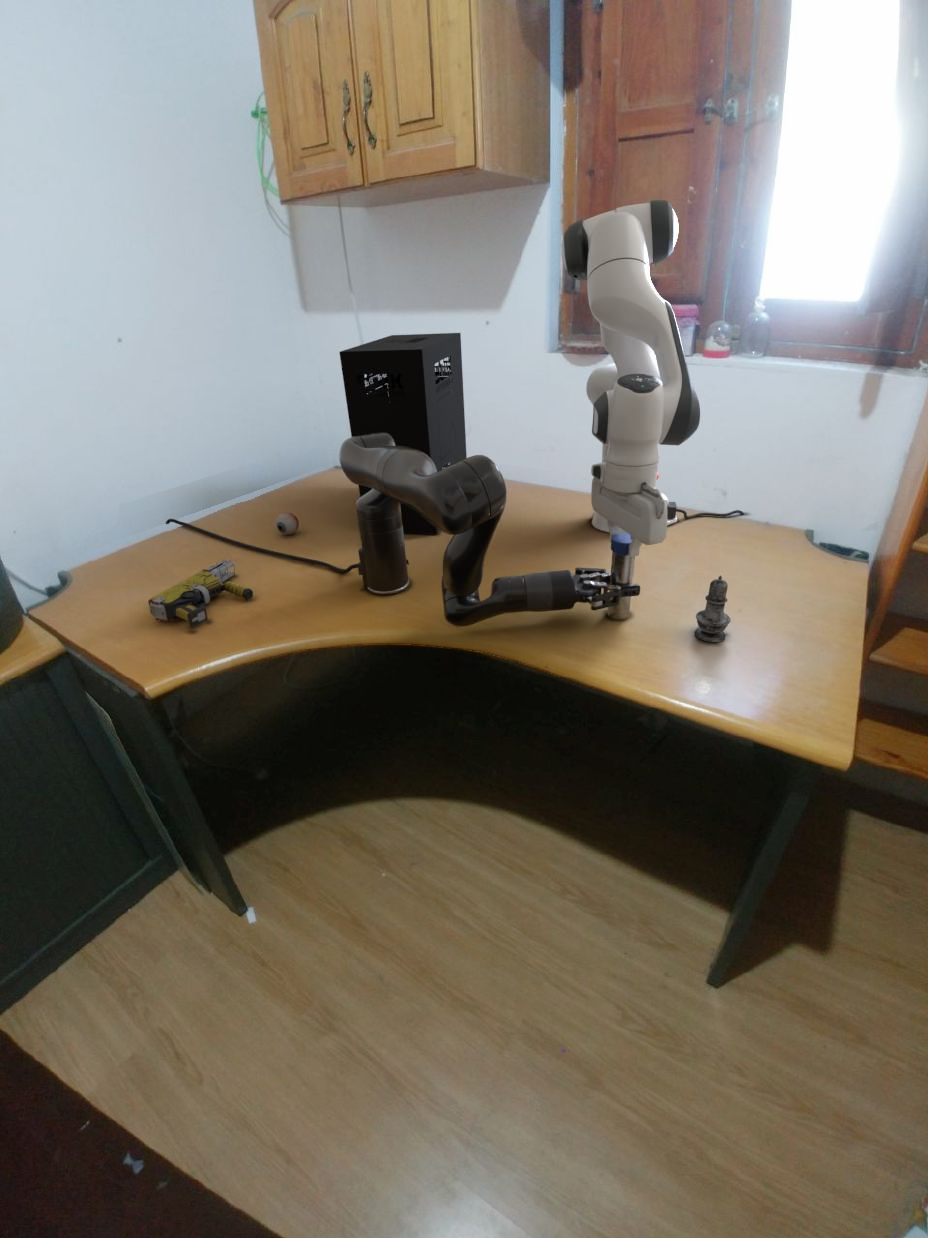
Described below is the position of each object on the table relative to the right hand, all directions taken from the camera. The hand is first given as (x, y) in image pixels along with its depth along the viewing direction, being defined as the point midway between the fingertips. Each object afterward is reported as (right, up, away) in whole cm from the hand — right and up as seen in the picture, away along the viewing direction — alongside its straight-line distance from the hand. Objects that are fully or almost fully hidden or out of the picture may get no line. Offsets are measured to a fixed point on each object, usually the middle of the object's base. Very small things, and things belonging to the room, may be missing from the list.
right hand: (623, 549), depth 112 cm
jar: (+1, -12, +7) cm, 14 cm away
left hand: (+3, -6, +4) cm, 8 cm away
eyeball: (-78, +10, +53) cm, 95 cm away
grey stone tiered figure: (+15, -16, -1) cm, 22 cm away
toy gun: (-84, -9, +21) cm, 87 cm away
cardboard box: (-42, +19, +66) cm, 81 cm away
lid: (0, +2, -1) cm, 2 cm away
